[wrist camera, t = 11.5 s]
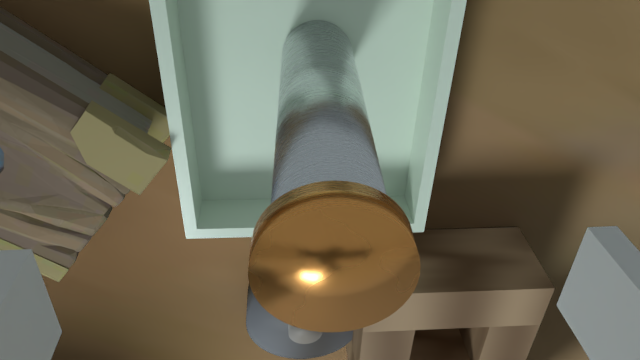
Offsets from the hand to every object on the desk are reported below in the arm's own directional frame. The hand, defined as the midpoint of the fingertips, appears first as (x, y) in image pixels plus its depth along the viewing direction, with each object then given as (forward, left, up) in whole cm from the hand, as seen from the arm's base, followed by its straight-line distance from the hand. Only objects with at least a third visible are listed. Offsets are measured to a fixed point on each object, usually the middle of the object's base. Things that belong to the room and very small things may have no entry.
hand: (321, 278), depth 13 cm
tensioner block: (+8, -16, -14) cm, 23 cm away
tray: (0, 0, -14) cm, 14 cm away
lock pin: (+1, 0, -13) cm, 14 cm away
